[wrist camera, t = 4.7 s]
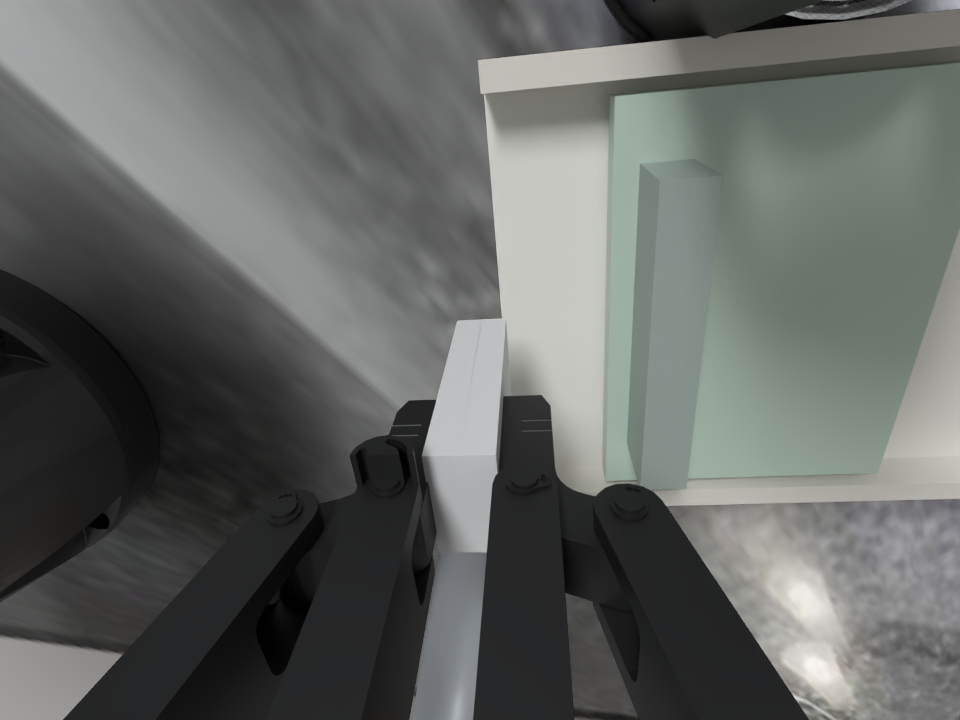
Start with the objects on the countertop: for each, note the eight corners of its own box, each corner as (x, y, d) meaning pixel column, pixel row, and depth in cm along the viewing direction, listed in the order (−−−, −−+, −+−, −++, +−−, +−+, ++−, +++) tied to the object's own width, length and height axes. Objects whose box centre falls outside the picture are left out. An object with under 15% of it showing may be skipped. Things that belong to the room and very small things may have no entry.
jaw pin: (449, 545, 28) (408, 832, 18) (440, 492, 26) (390, 777, 16) (518, 543, 28) (519, 836, 17) (514, 490, 26) (512, 780, 16)
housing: (515, 454, 25) (515, 509, 22) (484, 60, 17) (478, 60, 14) (1089, 434, 23) (1178, 493, 20) (1346, -32, 15) (1558, -56, 12)
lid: (602, 464, 22) (615, 529, 19) (609, 94, 16) (632, 102, 12) (863, 455, 21) (921, 522, 18) (987, 57, 15) (1111, 56, 12)
